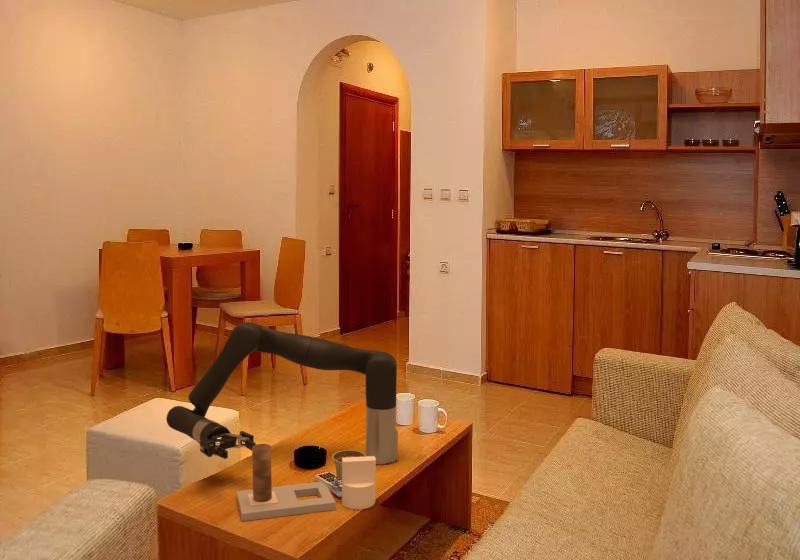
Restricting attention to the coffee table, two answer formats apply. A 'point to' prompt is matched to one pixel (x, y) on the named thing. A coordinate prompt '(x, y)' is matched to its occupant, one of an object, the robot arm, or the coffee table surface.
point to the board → (286, 501)
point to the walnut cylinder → (261, 472)
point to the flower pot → (343, 454)
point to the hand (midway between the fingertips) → (240, 451)
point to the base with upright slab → (358, 482)
